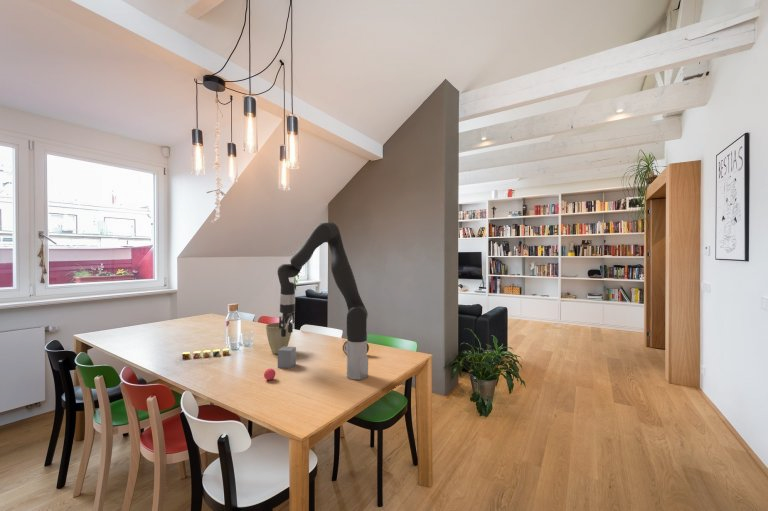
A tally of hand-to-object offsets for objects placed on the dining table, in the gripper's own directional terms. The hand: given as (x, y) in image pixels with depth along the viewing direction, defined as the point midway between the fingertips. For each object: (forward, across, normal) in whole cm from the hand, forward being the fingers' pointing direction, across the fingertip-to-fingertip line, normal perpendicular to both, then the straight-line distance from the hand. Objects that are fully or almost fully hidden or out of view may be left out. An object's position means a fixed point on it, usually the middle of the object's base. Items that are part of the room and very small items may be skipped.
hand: (286, 334), depth 170 cm
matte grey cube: (+16, 0, 0) cm, 16 cm away
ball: (+14, +19, 0) cm, 23 cm away
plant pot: (+16, -21, -14) cm, 30 cm away
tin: (+16, -23, +31) cm, 42 cm away
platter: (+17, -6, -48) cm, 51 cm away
